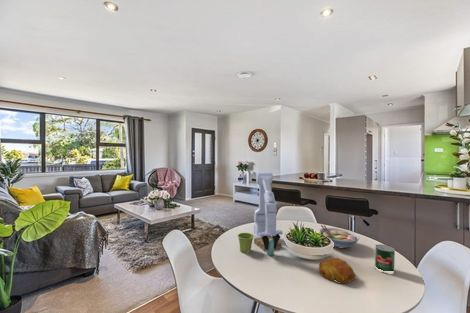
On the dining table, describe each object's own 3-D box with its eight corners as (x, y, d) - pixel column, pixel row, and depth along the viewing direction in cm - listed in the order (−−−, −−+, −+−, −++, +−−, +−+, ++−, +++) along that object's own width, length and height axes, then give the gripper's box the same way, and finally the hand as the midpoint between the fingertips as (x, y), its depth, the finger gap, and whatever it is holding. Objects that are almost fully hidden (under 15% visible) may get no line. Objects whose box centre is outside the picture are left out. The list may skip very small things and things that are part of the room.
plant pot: (253, 247, 134) (254, 233, 134) (253, 254, 124) (253, 239, 124) (238, 246, 135) (238, 232, 135) (236, 253, 125) (236, 238, 125)
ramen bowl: (366, 256, 125) (367, 241, 125) (323, 252, 129) (323, 238, 129) (351, 239, 150) (352, 227, 149) (315, 236, 154) (315, 224, 153)
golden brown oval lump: (313, 275, 109) (311, 259, 109) (338, 265, 114) (337, 250, 114) (336, 292, 95) (334, 273, 95) (363, 280, 101) (362, 262, 100)
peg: (265, 253, 126) (266, 239, 126) (271, 252, 128) (271, 238, 128) (269, 256, 123) (269, 241, 123) (274, 255, 124) (275, 240, 124)
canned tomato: (390, 267, 113) (391, 245, 113) (397, 275, 106) (397, 252, 106) (372, 264, 115) (373, 243, 115) (377, 272, 108) (378, 249, 108)
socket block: (254, 243, 141) (254, 238, 141) (270, 240, 145) (270, 235, 145) (264, 250, 130) (264, 245, 130) (281, 247, 134) (281, 242, 134)
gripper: (263, 227, 119) (262, 253, 119) (286, 224, 124) (285, 249, 125) (256, 223, 125) (256, 248, 125) (278, 221, 131) (278, 244, 131)
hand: (270, 248), depth 125 cm, fingers open, 5 cm apart
